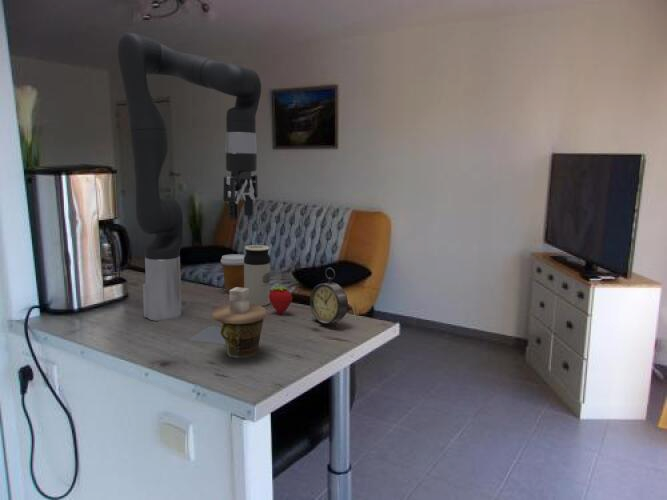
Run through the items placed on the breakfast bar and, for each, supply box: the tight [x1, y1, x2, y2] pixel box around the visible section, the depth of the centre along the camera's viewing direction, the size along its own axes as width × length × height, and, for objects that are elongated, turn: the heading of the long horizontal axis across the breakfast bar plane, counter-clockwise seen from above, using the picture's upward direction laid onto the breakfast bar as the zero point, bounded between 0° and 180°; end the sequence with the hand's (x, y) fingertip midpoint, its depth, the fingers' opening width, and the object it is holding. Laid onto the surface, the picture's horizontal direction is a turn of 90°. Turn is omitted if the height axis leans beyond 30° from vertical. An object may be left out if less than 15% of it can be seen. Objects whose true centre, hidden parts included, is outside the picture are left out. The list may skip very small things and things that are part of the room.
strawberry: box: [269, 281, 293, 316], centre depth 147 cm, size 6×8×10 cm
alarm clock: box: [309, 267, 349, 330], centre depth 138 cm, size 11×5×16 cm, turn 47°
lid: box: [211, 287, 267, 324], centre depth 113 cm, size 12×12×6 cm
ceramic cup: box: [220, 319, 264, 359], centre depth 115 cm, size 13×10×10 cm
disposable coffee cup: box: [220, 253, 246, 293], centre depth 171 cm, size 10×10×12 cm
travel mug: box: [244, 244, 271, 307], centre depth 156 cm, size 8×8×18 cm
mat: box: [187, 325, 226, 346], centre depth 128 cm, size 11×11×1 cm
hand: (241, 217), depth 127 cm, fingers open, 8 cm apart
